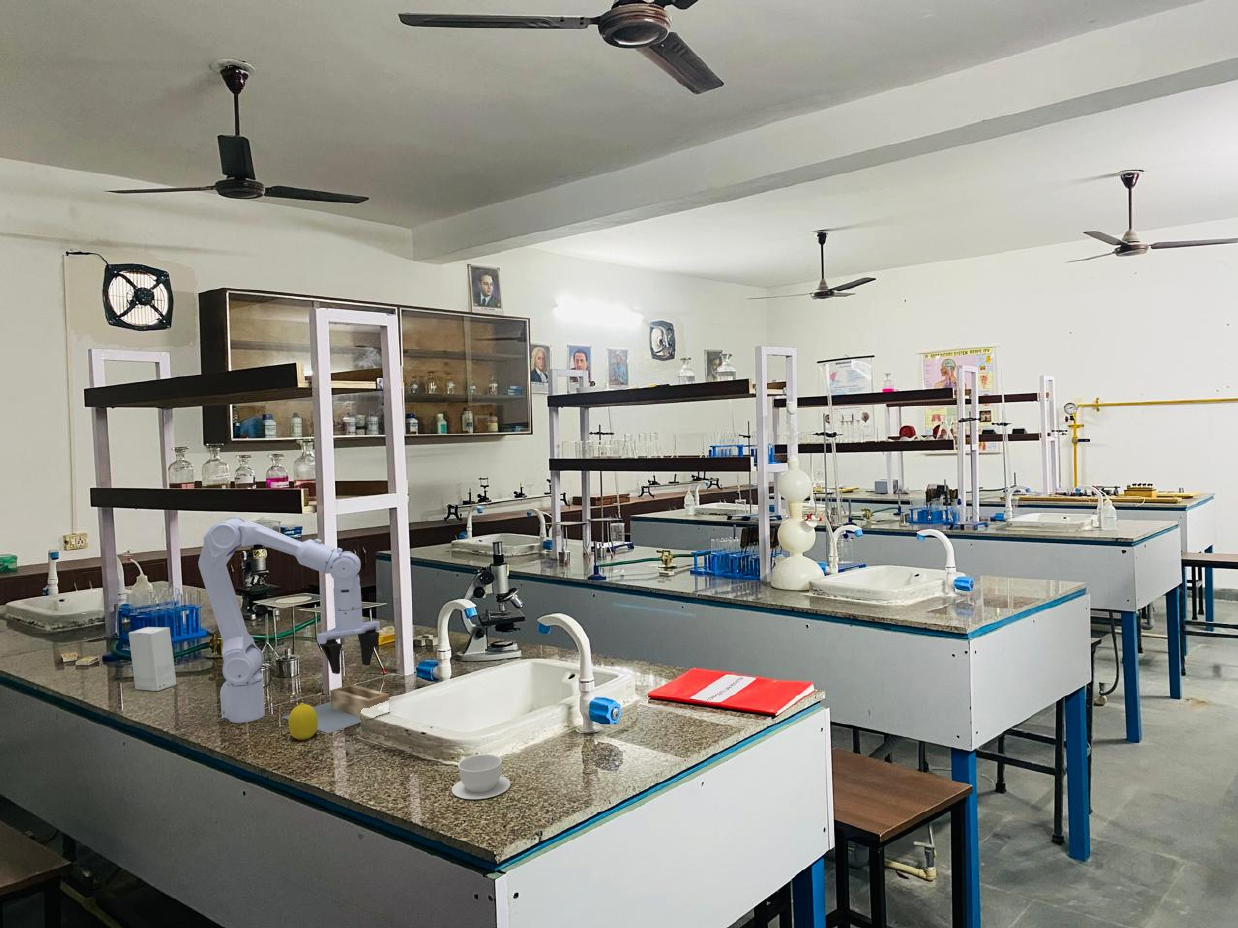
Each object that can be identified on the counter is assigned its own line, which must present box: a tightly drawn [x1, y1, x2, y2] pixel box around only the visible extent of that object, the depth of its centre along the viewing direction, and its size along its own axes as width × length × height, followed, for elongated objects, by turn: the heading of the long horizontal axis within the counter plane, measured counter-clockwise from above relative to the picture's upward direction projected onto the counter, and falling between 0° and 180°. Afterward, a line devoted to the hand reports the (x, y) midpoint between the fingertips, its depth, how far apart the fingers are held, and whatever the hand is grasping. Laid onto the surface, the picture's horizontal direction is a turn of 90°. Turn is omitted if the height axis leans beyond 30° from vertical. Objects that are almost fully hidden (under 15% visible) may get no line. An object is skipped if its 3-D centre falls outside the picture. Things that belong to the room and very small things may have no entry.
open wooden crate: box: [329, 683, 390, 717], centre depth 189 cm, size 14×5×4 cm, turn 51°
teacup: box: [451, 753, 512, 800], centre depth 148 cm, size 10×10×5 cm
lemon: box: [288, 702, 318, 741], centre depth 173 cm, size 6×6×8 cm
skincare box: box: [128, 626, 177, 692], centre depth 217 cm, size 8×6×15 cm
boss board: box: [281, 701, 362, 734], centre depth 187 cm, size 18×16×4 cm
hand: (351, 668), depth 191 cm, fingers open, 7 cm apart
